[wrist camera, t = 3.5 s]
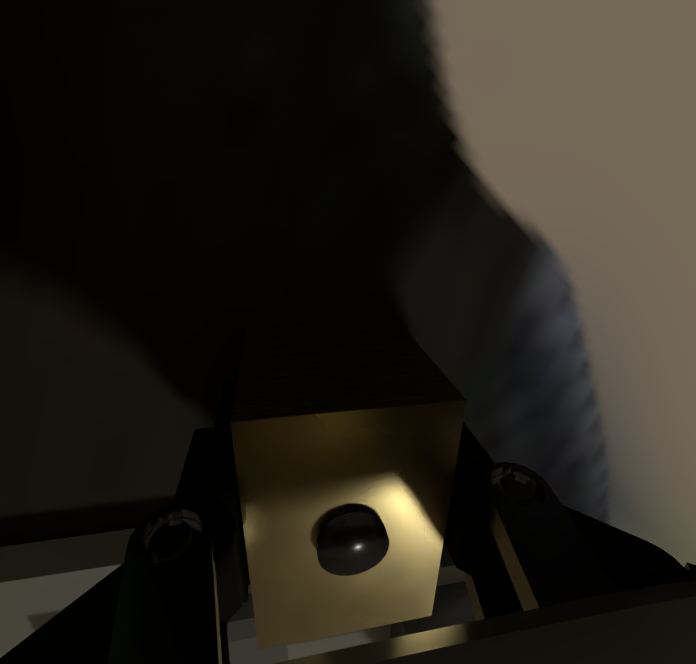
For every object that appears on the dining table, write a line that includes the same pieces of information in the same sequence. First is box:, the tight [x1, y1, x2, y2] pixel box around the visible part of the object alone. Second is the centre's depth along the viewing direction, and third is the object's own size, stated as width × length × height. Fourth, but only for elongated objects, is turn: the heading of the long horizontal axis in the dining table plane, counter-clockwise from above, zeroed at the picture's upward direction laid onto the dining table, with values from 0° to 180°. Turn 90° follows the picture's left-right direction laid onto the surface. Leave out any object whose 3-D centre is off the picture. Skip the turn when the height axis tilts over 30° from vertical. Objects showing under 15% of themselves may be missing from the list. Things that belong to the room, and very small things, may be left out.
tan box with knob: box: [230, 314, 467, 650], centre depth 9 cm, size 6×4×5 cm, turn 179°
